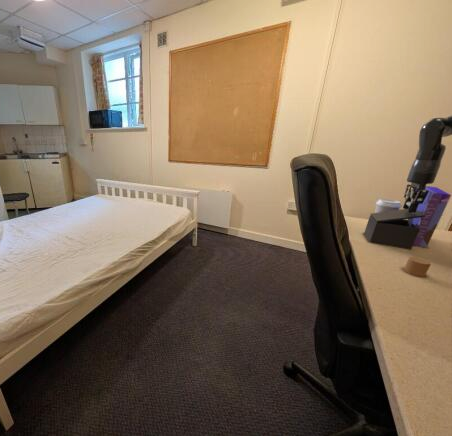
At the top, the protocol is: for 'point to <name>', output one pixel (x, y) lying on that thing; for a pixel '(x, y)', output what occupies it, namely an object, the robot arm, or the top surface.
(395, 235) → the dark hinged box
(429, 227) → the cereal box
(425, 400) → the top surface
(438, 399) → the top surface
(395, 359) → the top surface
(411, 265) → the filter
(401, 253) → the top surface
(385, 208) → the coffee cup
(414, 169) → the robot arm
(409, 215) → the lid
